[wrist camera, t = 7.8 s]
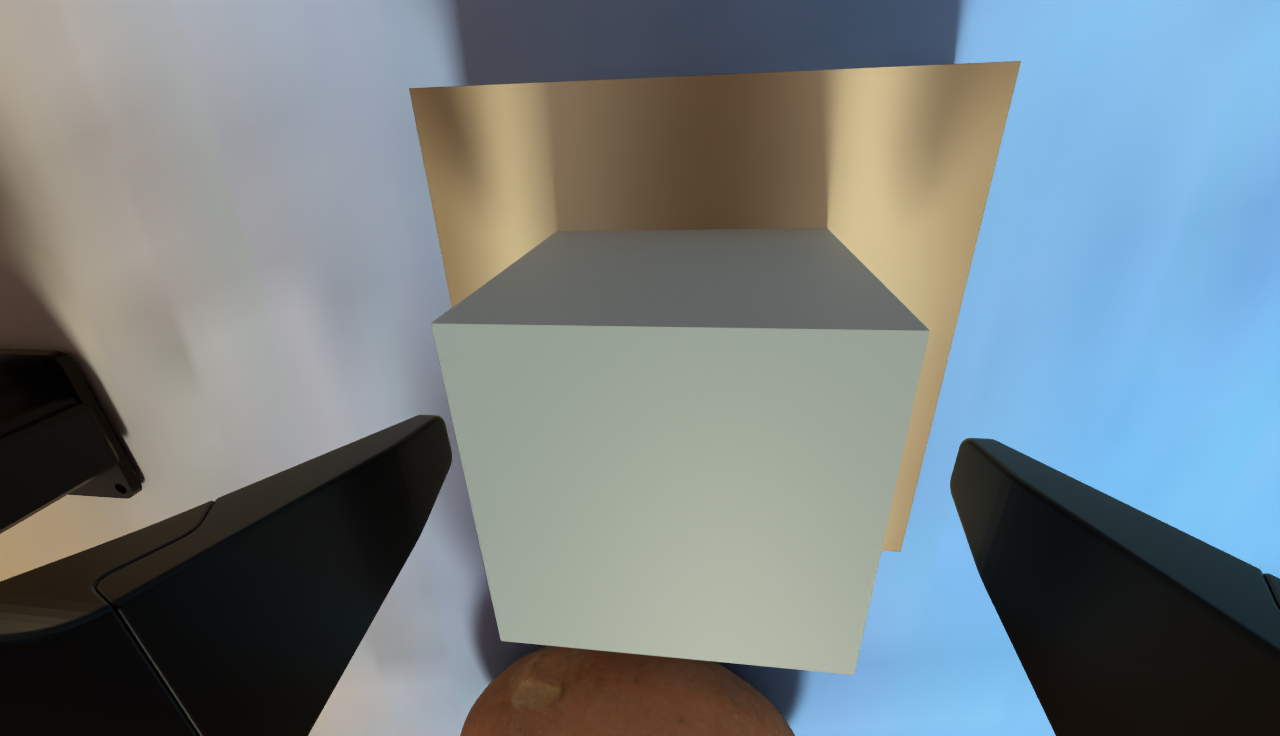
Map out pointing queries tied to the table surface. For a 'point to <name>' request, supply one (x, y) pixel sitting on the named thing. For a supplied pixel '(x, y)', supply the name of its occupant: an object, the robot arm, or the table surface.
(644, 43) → the table surface
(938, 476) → the table surface
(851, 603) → the gray cube
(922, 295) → the birch board
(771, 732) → the ceramic jug
